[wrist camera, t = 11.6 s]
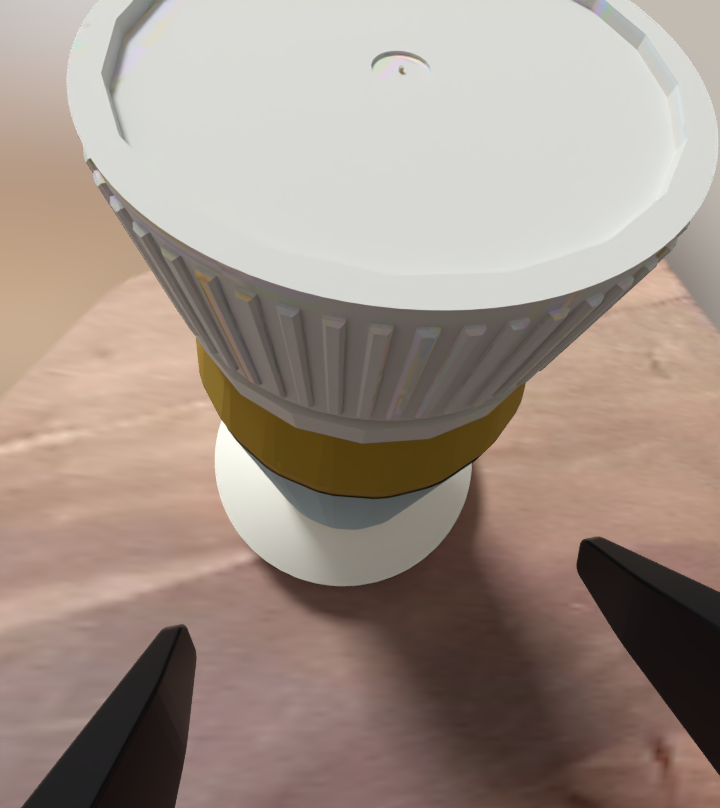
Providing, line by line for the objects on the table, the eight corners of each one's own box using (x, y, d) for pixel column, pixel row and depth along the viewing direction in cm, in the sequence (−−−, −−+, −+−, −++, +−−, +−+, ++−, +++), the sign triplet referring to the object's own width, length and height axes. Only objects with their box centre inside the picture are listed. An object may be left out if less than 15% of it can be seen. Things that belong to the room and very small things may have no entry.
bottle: (371, 361, 19) (463, -129, 6) (453, 477, 17) (921, 157, 3) (248, 427, 18) (-74, -47, 4) (322, 564, 16) (216, 622, 2)
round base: (467, 376, 22) (479, 359, 20) (447, 607, 17) (461, 612, 15) (264, 336, 22) (257, 316, 20) (191, 554, 17) (174, 554, 15)
